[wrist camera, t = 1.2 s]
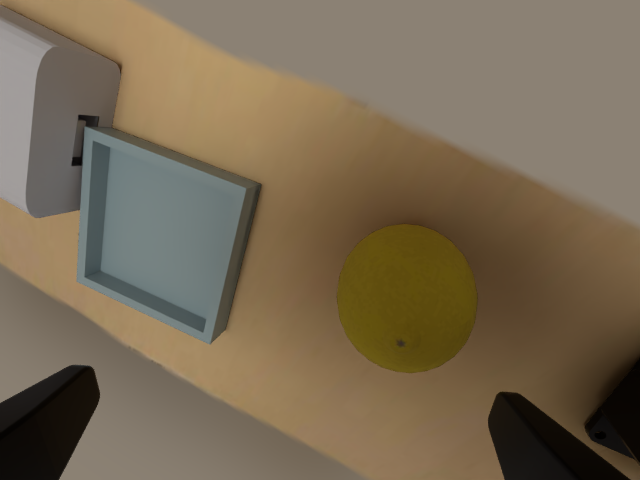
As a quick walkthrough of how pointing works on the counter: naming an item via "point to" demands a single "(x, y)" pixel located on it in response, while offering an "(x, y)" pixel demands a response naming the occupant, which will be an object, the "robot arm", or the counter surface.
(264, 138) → the counter surface
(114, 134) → the tray
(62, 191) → the charger
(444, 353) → the lemon
